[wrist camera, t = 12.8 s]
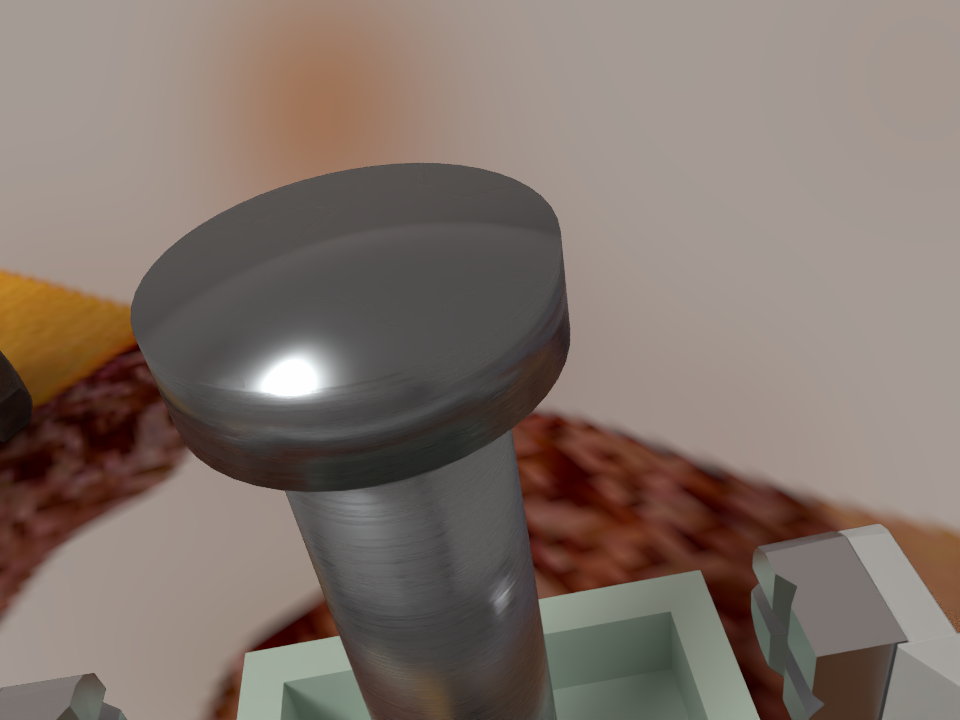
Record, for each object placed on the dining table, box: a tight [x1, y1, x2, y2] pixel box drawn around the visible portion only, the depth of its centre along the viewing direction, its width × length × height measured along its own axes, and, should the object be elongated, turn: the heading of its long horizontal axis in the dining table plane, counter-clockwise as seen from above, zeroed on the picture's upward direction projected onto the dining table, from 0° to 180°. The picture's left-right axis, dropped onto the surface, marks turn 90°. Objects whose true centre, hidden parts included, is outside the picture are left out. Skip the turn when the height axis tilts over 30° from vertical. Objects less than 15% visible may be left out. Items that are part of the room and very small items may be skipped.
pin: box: [131, 163, 570, 720], centre depth 13 cm, size 4×4×15 cm
